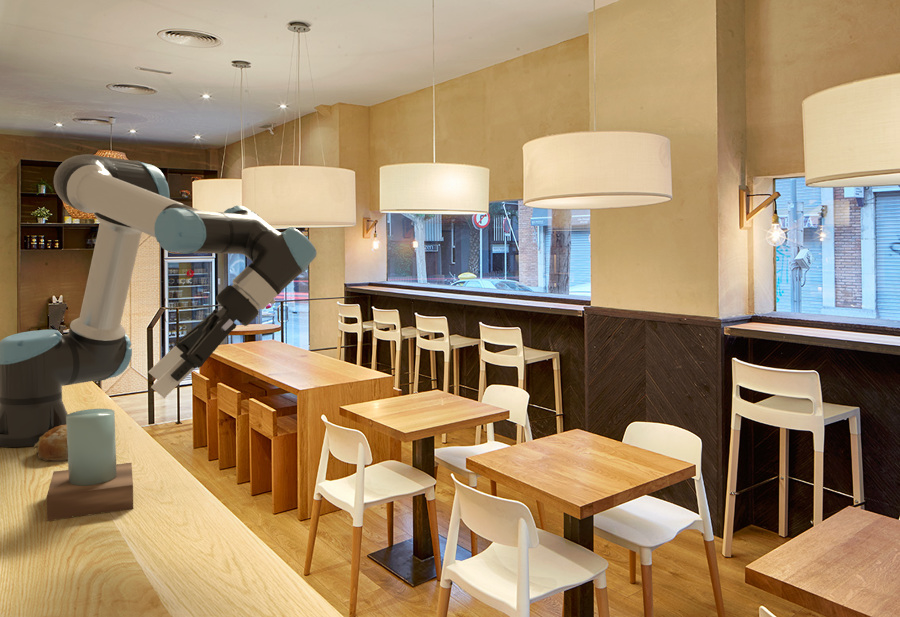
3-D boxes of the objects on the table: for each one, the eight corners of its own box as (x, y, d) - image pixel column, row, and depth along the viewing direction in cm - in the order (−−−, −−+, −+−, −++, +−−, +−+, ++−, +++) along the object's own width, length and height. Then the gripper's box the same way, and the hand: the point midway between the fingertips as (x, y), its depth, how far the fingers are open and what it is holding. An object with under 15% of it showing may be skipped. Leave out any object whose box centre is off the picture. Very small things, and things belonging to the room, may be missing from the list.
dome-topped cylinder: (70, 474, 108) (67, 411, 107) (116, 468, 111) (114, 407, 110) (67, 488, 101) (64, 421, 100) (116, 481, 105) (114, 416, 104)
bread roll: (58, 481, 124) (72, 447, 123) (18, 455, 126) (31, 421, 125) (96, 465, 134) (109, 433, 133) (58, 441, 136) (71, 409, 134)
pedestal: (54, 494, 109) (53, 471, 109) (131, 484, 115) (131, 462, 114) (47, 520, 98) (46, 496, 98) (133, 508, 104) (133, 484, 104)
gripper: (275, 319, 105) (178, 415, 100) (248, 306, 127) (168, 384, 122) (242, 287, 102) (140, 384, 97) (221, 279, 124) (137, 358, 119)
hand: (155, 384), depth 109 cm, fingers open, 13 cm apart
